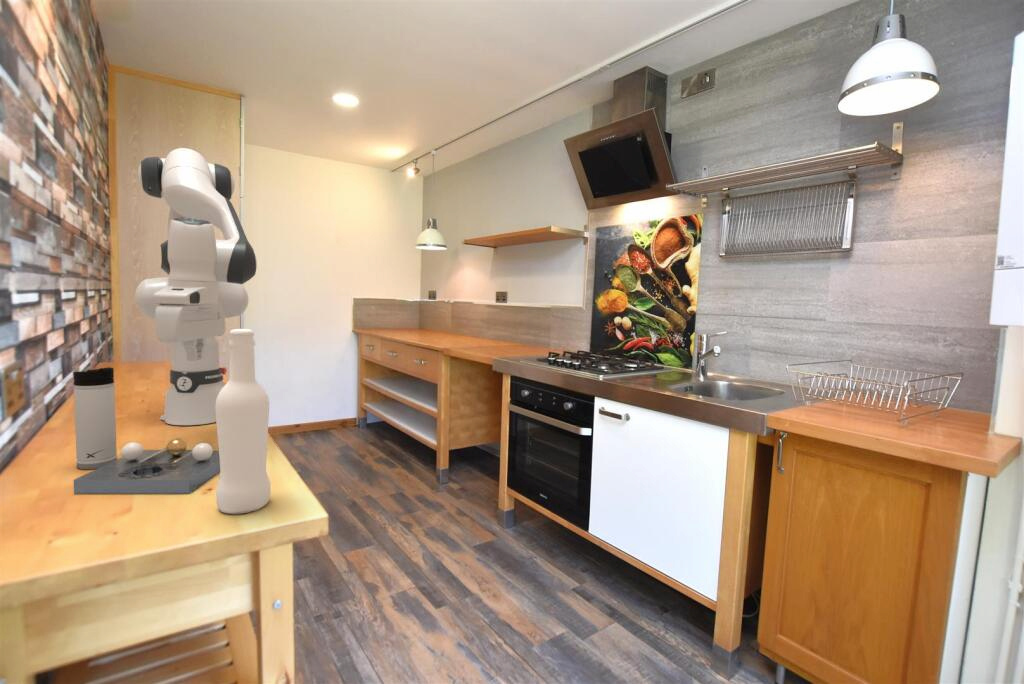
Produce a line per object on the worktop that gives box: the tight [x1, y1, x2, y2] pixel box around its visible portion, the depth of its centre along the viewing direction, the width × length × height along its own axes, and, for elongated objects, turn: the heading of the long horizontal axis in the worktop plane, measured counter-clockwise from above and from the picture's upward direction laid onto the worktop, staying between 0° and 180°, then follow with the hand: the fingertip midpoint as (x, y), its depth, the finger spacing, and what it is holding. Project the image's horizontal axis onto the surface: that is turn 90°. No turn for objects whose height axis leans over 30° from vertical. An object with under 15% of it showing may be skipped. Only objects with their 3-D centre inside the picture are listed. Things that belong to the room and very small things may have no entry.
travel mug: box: [73, 366, 118, 470], centre depth 100 cm, size 6×7×20 cm
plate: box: [73, 447, 220, 495], centre depth 95 cm, size 17×19×3 cm
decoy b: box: [120, 441, 144, 461], centre depth 96 cm, size 4×4×4 cm
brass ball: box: [165, 437, 188, 456], centre depth 100 cm, size 4×4×4 cm
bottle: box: [215, 328, 272, 515], centre depth 83 cm, size 8×8×30 cm
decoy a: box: [192, 442, 214, 461], centre depth 98 cm, size 4×4×4 cm
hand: (195, 360), depth 106 cm, fingers closed
